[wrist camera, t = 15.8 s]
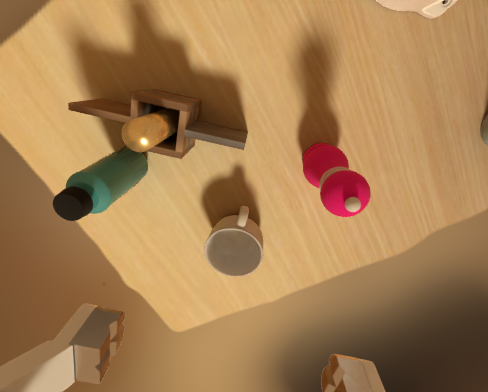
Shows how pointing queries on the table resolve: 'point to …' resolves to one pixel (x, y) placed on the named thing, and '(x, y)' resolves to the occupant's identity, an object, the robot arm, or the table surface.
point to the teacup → (235, 245)
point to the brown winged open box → (150, 103)
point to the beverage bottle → (100, 184)
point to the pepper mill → (335, 180)
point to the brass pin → (150, 129)
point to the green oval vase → (485, 130)
